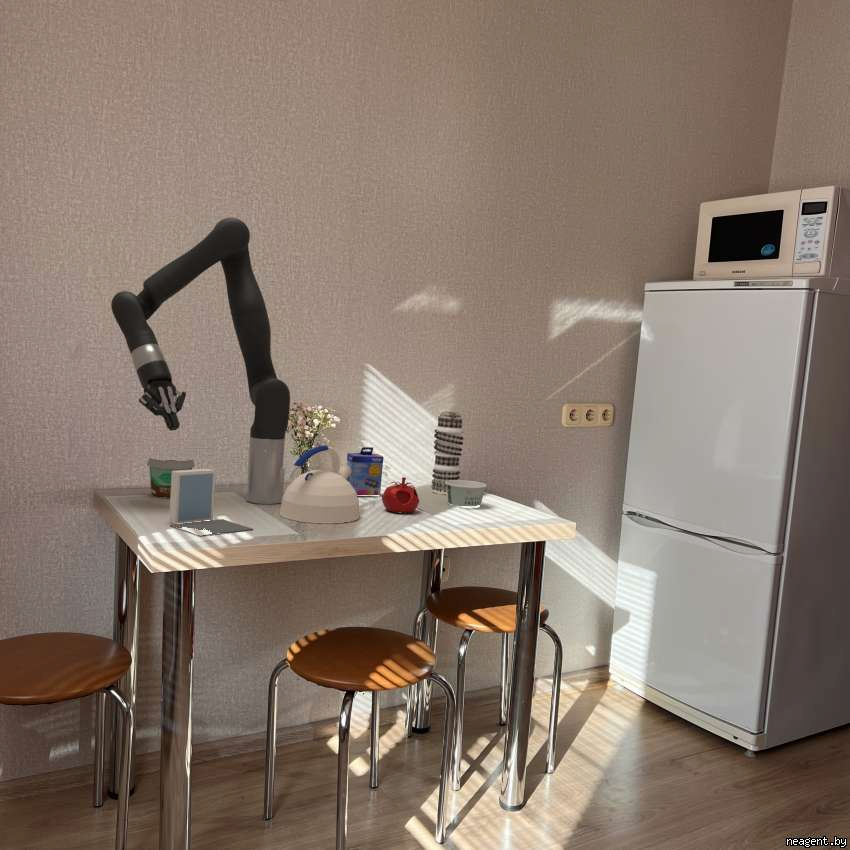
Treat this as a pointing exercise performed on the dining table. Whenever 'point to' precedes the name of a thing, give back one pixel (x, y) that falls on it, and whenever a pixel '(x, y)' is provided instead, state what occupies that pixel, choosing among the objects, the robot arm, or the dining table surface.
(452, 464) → the leaning tower model
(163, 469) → the food container
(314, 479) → the kettle
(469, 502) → the food container
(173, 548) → the dining table surface
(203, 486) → the tile
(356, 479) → the ink cartridge box
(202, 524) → the mat
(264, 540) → the dining table surface
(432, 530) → the dining table surface
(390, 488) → the pomegranate
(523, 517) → the dining table surface
